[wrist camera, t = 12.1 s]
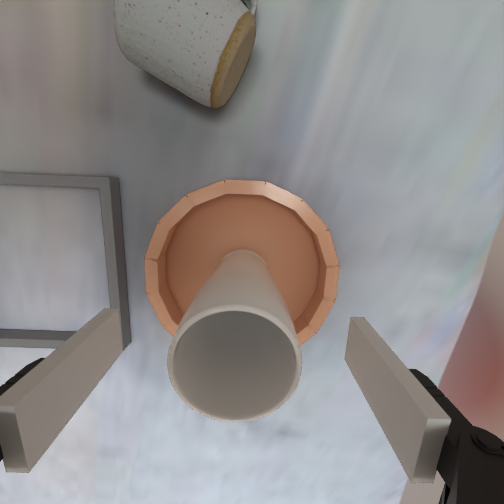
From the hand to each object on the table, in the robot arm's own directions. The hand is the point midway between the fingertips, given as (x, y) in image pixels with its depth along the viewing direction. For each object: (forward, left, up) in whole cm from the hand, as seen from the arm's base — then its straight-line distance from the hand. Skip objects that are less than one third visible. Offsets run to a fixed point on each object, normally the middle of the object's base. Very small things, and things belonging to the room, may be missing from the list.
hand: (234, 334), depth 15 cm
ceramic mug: (-20, -4, -14) cm, 25 cm away
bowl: (0, 0, -13) cm, 13 cm away
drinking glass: (0, 0, -13) cm, 13 cm away
